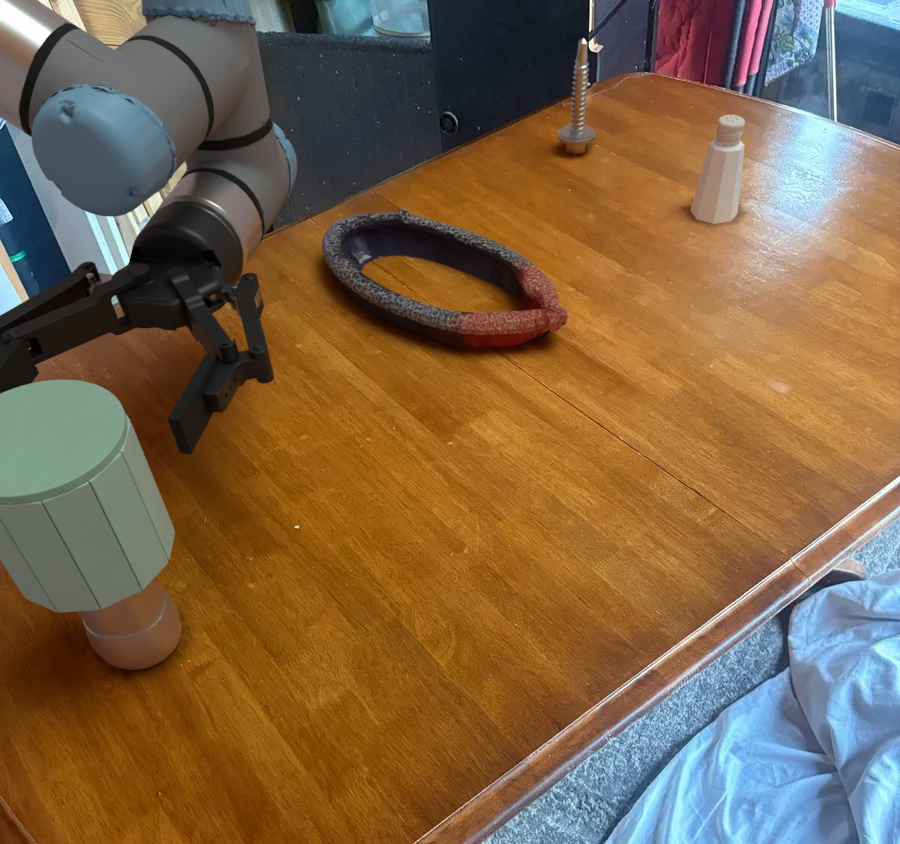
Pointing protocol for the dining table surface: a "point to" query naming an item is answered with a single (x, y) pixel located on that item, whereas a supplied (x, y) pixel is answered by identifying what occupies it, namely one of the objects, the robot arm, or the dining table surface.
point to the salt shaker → (721, 174)
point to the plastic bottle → (135, 629)
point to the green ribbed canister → (77, 498)
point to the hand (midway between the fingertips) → (76, 427)
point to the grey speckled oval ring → (452, 247)
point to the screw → (578, 107)
